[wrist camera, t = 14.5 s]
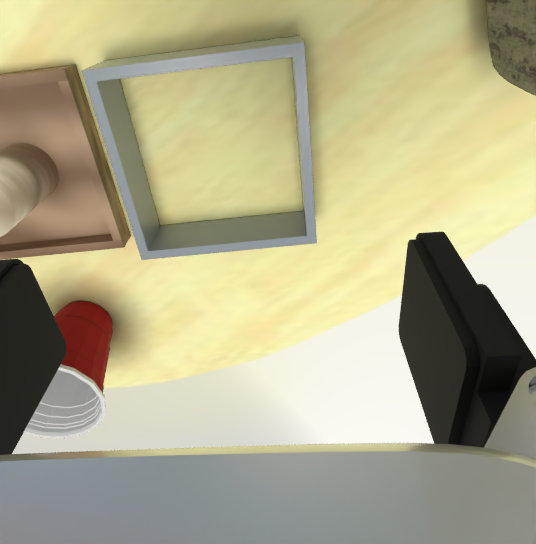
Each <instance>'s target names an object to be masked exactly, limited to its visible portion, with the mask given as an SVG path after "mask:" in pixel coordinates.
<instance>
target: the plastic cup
mask: <svg viewBox="0 0 536 544" xmlns="http://www.w3.org/2000/svg"><path fill="white" fill-rule="evenodd" d="M54 318H55V320H56V322H57V325H58V327H59V329H60V331H61V333H62V335H63V337H64V339H65V342H66V345H67V352H66V355H65V358H64V359H63V361H62V363H61V365H60V367H59V369H58V370H57V372H56V374H55V376H54V378H53V379H52V381H51V383H50V385H49V387H48V389H47V390H46V392H45V394H44V396H43V398H42V399H41V401H40V403H39V405H38V407H37V409H36V410H35V412H34V414H33V416H32V418H31V420H30V421H29V423H28V425H27V427H26V429H25V430H24V432H23V433H27V434H31V435H35V436H39V437H49V438H67V437H71V436H77V435H81V434H85V433H87V432H88V431H90V430H92V429H93V428H95V427H96V426H98V425H99V424H100V423H101V421H102V419H103V417H104V416H105V414H106V405H105V397H104V394H103V388H104V387H103V383H104V377H105V372H106V366H107V361H108V355H109V350H110V348H109V345H110V341H111V336H112V319H111V318H110V316H109V314H108V312H106V311H105V310H104V309H103V308H101V307H100V306H98V305H96V304H94V303H91V302H85V301H77V302H72V303H70V304H68V305H67V306H65V307H64V308H63V309H61V310H60V311H59V312H58V313H57V314H56V315H55V316H54Z"/></svg>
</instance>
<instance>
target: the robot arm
mask: <svg viewBox="0 0 536 544" xmlns="http://www.w3.org/2000/svg"><path fill="white" fill-rule="evenodd" d="M399 335H400V340H401V343H402V346H403V349H404V352H405V355H406V358H407V362H408V365H409V367H410V371H411V374H412V377H413V380H414V383H415V386H416V389H417V392H418V395H419V398H420V401H421V404H422V407H423V410H424V413H425V416H426V419H427V422H428V425H429V428H430V431H431V435H432V438H433V441H434V444H427V443H426V444H424V443H371V444H370V443H367V444H365V443H364V444H308V445H273V446H238V447H204V448H174V449H145V450H116V451H115V450H114V451H86V452H58V453H33V454H12V452H13V450H14V449H15V447H16V445H17V443H18V441H19V440H20V438H21V436H22V434H23V432H24V430H25V429H26V427H27V425H28V423H29V421H30V420H31V418H32V416H33V414H34V412H35V410H36V409H37V407H38V405H39V403H40V401H41V399H42V398H43V396H44V394H45V392H46V390H47V389H48V387H49V385H50V383H51V381H52V379H53V378H54V376H55V374H56V372H57V370H58V369H59V367H60V365H61V363H62V361H63V359H64V358H65V355H66V352H67V345H66V342H65V339H64V337H63V335H62V333H61V331H60V329H59V327H58V325H57V322H56V320H55V318H54V316H53V314H52V312H51V310H50V308H49V306H48V303H47V301H46V299H45V297H44V295H43V293H42V291H41V289H40V287H39V284H38V282H37V280H36V278H35V276H34V274H33V272H32V270H31V268H30V267H29V266H28V265H26V264H24V263H23V262H22V261H21V260H19V259H8V260H0V544H536V359H535V357H534V356H533V354H532V353H531V351H530V350H529V348H528V347H527V345H526V344H525V342H524V341H523V339H522V338H521V336H520V335H519V333H518V332H517V330H516V329H515V327H514V326H513V324H512V323H511V321H510V320H509V318H508V316H507V315H506V313H505V312H504V310H503V309H502V307H501V306H500V304H499V303H498V301H497V300H496V299H495V297H494V295H493V294H492V292H491V291H490V289H489V288H488V287H487V286H486V285H483V284H477V283H476V282H475V280H474V278H473V277H472V275H471V274H470V272H469V270H468V269H467V267H466V266H465V264H464V262H463V261H462V259H461V258H460V256H459V255H458V253H457V251H456V250H455V248H454V247H453V245H452V243H451V242H450V240H449V239H448V237H447V235H446V234H445V233H444V232H431V233H418V234H417V237H416V240H409V242H408V248H407V257H406V266H405V275H404V284H403V293H402V302H401V312H400V320H399Z"/></svg>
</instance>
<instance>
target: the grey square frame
mask: <svg viewBox="0 0 536 544" xmlns="http://www.w3.org/2000/svg"><path fill="white" fill-rule="evenodd" d="M289 57H292V69H293V82H294V95H295V108H296V121H297V134H298V147H299V160H300V173H301V186H302V199H303V211H298V212H289V213H279V214H269V215H259V216H249V217H239V218H229V219H219V220H209V221H199V222H190V223H180V224H170V225H160V223H159V219H158V216H157V212H156V209H155V205H154V201H153V198H152V194H151V191H150V187H149V183H148V180H147V176H146V172H145V169H144V165H143V162H142V158H141V154H140V151H139V147H138V144H137V140H136V136H135V133H134V129H133V125H132V122H131V118H130V115H129V111H128V107H127V104H126V100H125V97H124V93H123V89H122V86H121V82H120V79H121V78H129V77H137V76H145V75H153V74H161V73H169V72H177V71H185V70H193V69H201V68H209V67H217V66H225V65H233V64H241V63H249V62H257V61H265V60H273V59H281V58H289ZM82 74H83V77H84V80H85V83H86V86H87V89H88V92H89V96H90V99H91V102H92V105H93V108H94V111H95V114H96V118H97V121H98V124H99V127H100V130H101V133H102V137H103V140H104V143H105V146H106V149H107V152H108V155H109V159H110V162H111V165H112V168H113V171H114V174H115V177H116V181H117V184H118V187H119V190H120V193H121V196H122V200H123V203H124V206H125V209H126V212H127V215H128V218H129V222H130V225H131V228H132V231H133V234H134V237H135V240H136V244H137V247H138V250H139V253H140V256H141V259H142V260H146V259H156V258H167V257H177V256H188V255H198V254H208V253H219V252H229V251H240V250H250V249H261V248H271V247H281V246H292V245H302V244H313V243H317V239H316V223H315V206H314V190H313V174H312V158H311V142H310V125H309V109H308V93H307V77H306V61H305V44H304V41H303V39H302V38H301V36H293V37H285V38H277V39H269V40H262V41H254V42H246V43H238V44H230V45H223V46H215V47H207V48H199V49H191V50H184V51H176V52H168V53H160V54H152V55H145V56H137V57H129V58H121V59H114V60H106V61H103V62H100V63H98V64H96V65H93V66H91V67H89V68H87V69H84V70H82Z"/></svg>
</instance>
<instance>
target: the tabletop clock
mask: <svg viewBox="0 0 536 544" xmlns="http://www.w3.org/2000/svg"><path fill="white" fill-rule="evenodd" d="M486 6H487V22H488V37H489V46H490V53H491V58H492V62H493V66H494V68H495V69H496V70H497V72H498V73H499V74H500V75H501V76H502V77H503V78H504V79H505V80H507V81H508V82H509V83H511V84H513V85H515V86H517V87H519V88H521V89H523V90H525V91H527V92H529V93H531V94H532V95H536V0H486Z"/></svg>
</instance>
